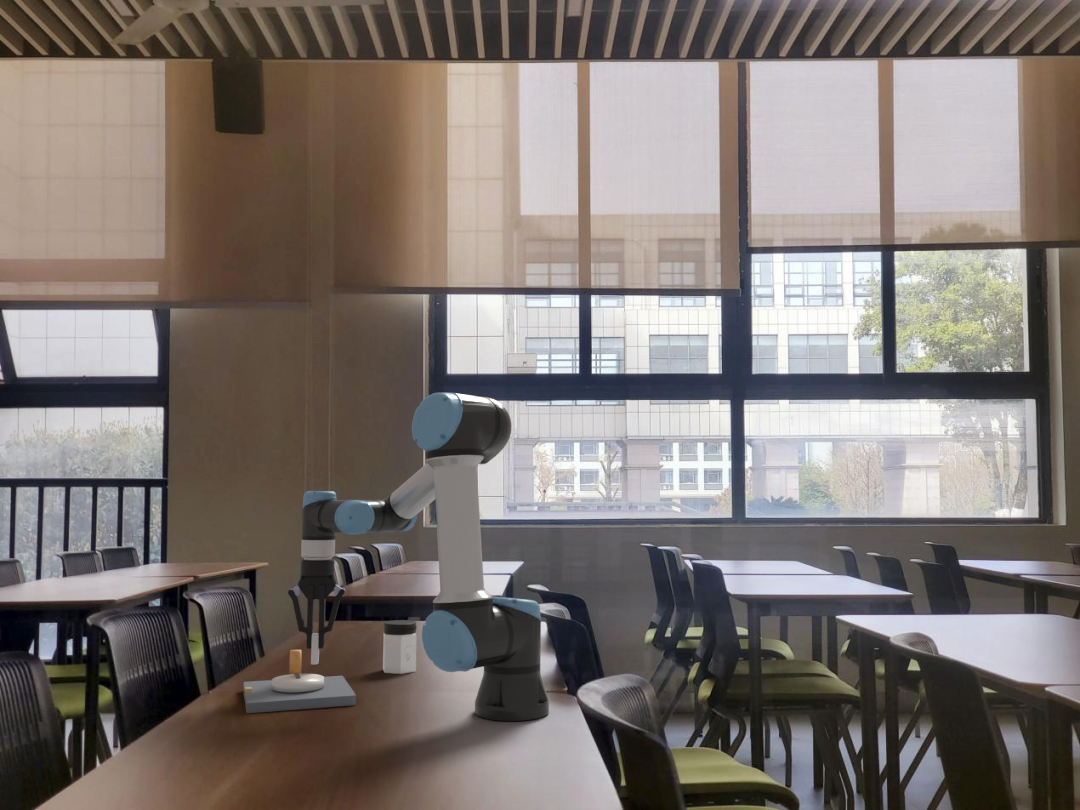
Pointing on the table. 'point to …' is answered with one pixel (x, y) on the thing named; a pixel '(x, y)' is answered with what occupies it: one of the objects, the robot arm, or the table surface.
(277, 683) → the dial
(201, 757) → the table surface
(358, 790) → the table surface
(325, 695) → the panel
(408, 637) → the jar
